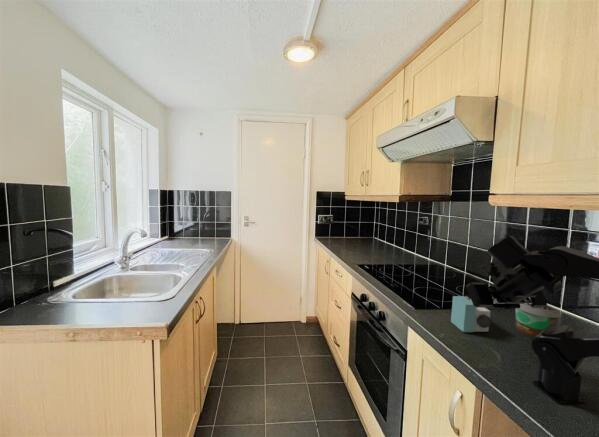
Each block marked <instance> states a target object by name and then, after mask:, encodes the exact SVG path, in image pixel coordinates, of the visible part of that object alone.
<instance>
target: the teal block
mask: <svg viewBox="0 0 599 437" xmlns="http://www.w3.org/2000/svg"><path fill="white" fill-rule="evenodd" d="M465 297H466V296H462V295H457V296H456V295H455V296H454V295H453V296H452V305H451V316H450V322H451V323H452V324H453V325H454V326H455V327H457V328H458V329H459V330H460V331H461V332H463V333H475V332H474V327H475V316H476V307H475V306H474V305H473V303H472V302H471V301H470V300H468V299H466V298H465Z"/></svg>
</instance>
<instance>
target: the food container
mask: <svg viewBox="0 0 599 437" xmlns="http://www.w3.org/2000/svg"><path fill="white" fill-rule="evenodd" d="M530 304H532V302H530V301H525V303H524V304H520V306H521V307H520V308H515V329H516V330H517V331H518V332H519V333H521V334H523V335H525V336H526V337H530V338H533V339H534V338H535V337H536V336H537V335H538V334H539V333H540V332H542V331H543V330H545V329H546V328H548V327H549V326H550V325H551V326H556V324H557V321H558V318H559V319H560V318H561V312H560V309H558V310H557V309H555V310H551V309H548V308H546V307H543V308H532V307H531V305H530Z"/></svg>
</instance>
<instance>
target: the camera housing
mask: <svg viewBox="0 0 599 437" xmlns="http://www.w3.org/2000/svg"><path fill="white" fill-rule="evenodd" d="M464 297H465V298H466V299H468V300H470V301H471V302H472V300H471V298H470V297H468V296H464ZM491 324H492V320H491V310H489V309H488V308H487V307H486V308H480V307H476V316H475V327H474V332H473V333H475V332H489V327H490V325H491Z"/></svg>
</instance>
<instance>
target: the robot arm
mask: <svg viewBox="0 0 599 437" xmlns="http://www.w3.org/2000/svg"><path fill="white" fill-rule="evenodd" d="M487 253H488V254H489V255H490V256H491V257H492V258H493V259H494V260H495V261H491V262H487V263H485V264H484V265H483V267H482V271H483V272H484V274H485V275H486V276H488V277H491V278H492V279H493V281H492V283H493V286H487V284H486V283H484V282H470V283H468V285H466V286H465V288H466V291H467V293H468V295H469V298H470V299H471V300H472V303H473V305H474V306H475V307H480V308H486V309H488V310H489V309H491V310H493V309H516V308H520V307H521V306H520V304H524V303H525V301H526V302H530V301H531V303H532V304H530V305H531V307H532V308H543V307H544V308H546V306H548V299H547V297H546V296H545V294H544V292H543V291H542V289H544V288H545V289H546V290H547V292H549V293H550V294H555V293H557V292H558V291H560V290H561V289H563V287H564V286H563V283H562V279H561V278H558V277H556V276H561V277H569V278H580V279H592V280H593V279H594V280H599V257H597V256H595V255H592V254H589V253H587V252H584V251H581V250H578V249H574V248H572V247H569V246H563V245H559V246H558V245H557V246H555V247H552V248H549V249H546V250H540V251H539V250H535V251H529V250H528V249H527V248H526V247H525V246H524V245H522V244H521V243H520V242H519V240H518V239H517V238H516V237H514V235H509V236H507V237H506V238H504V239H502V240H501V241H499V242H498V243H494V244H493V245H492V246H491V247H489V249H488V250H487ZM520 266H521V268H520V269H519V270H517V271H516V270H515V269H517V268H519V267H520ZM531 349H532V350H533V351H534V353H535V354H536V355H537V357H538V360H539V363H540V364H539V370H538V377H537V378H538V379H537V380H532V383H531V384H533V385H534V386H536V387H537V388H538V389H540V390H541V392H543V393H544V394H546V396H548V397H549V398H551V399H552V400H553V401H554V402H556V403H557V404H586V402H587V400H586V399H584V398H582V397H581V395H580V393H581V385H582V380H583V376H582V375H581V374H580V372H579V370H580V368H581V366H582V365H583V363H584V362H585V359H586V358H589V357H590V358H592V357H593V358H594V357H596V358H599V333H582V332H579V331H578V332H577V331H574V330H573V326H572V325H571V324H569V325H567V324H566V325H562V326H561V325H560V326H556V325H555V326H551V325H550V326H549V327H548V328H546V329H545V330H543V331H542V332H540V333H539V334H538V335H537V336H536V337H535V338H533V339H532V340H531Z"/></svg>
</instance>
